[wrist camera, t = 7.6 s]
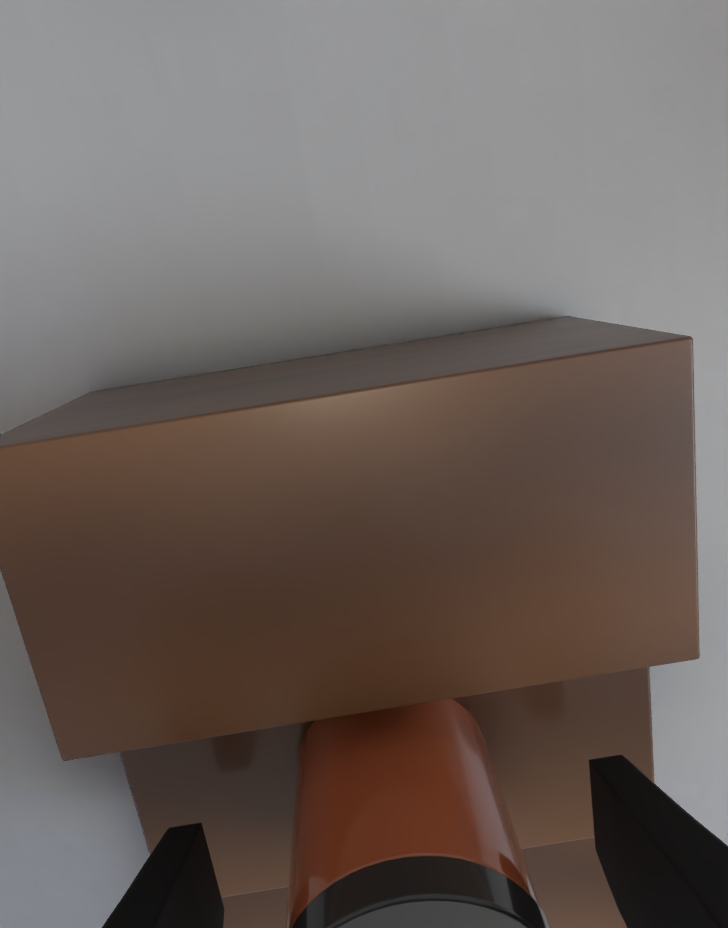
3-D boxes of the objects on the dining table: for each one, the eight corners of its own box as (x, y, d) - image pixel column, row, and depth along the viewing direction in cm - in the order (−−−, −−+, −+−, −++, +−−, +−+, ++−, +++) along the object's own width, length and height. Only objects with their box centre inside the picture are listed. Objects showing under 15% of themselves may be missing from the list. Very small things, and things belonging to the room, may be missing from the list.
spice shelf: (609, 887, 20) (710, 1110, 15) (236, 947, 20) (201, 1193, 14) (569, 315, 15) (694, 336, 10) (88, 392, 15) (-39, 452, 10)
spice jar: (283, 837, 15) (260, 1112, 10) (307, 668, 14) (293, 885, 9) (470, 852, 15) (537, 1126, 10) (507, 689, 14) (601, 908, 9)
